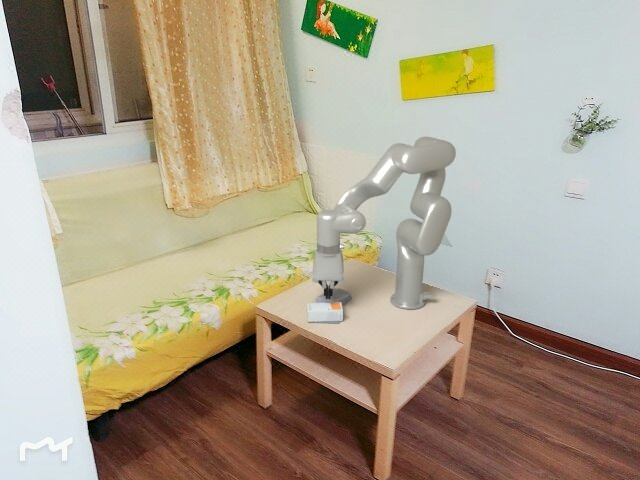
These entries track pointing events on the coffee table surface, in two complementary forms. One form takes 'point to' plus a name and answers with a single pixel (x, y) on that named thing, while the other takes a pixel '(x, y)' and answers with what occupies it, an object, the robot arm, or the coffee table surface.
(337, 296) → the stone block
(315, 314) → the skincare box
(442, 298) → the coffee table surface
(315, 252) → the robot arm
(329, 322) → the pad
